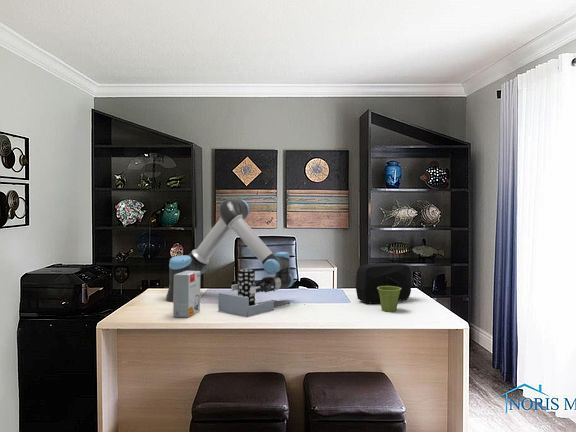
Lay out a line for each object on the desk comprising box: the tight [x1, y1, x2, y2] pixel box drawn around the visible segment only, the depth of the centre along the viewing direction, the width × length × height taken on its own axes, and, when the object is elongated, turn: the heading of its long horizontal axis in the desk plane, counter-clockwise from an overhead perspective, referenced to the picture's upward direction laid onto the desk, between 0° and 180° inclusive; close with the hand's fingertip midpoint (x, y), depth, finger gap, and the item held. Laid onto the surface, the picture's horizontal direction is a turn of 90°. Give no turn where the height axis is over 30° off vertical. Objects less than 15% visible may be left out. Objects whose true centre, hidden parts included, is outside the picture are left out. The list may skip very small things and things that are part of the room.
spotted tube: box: [237, 268, 256, 306], centre depth 251 cm, size 8×8×20 cm
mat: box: [257, 299, 290, 308], centre depth 267 cm, size 12×12×1 cm
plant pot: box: [377, 286, 401, 313], centre depth 253 cm, size 12×12×11 cm
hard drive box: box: [172, 271, 201, 318], centre depth 243 cm, size 16×8×20 cm, turn 168°
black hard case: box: [355, 262, 412, 305], centre depth 274 cm, size 30×12×20 cm, turn 114°
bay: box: [218, 292, 275, 318], centre depth 251 cm, size 19×19×9 cm
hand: (241, 289), depth 248 cm, fingers open, 12 cm apart
